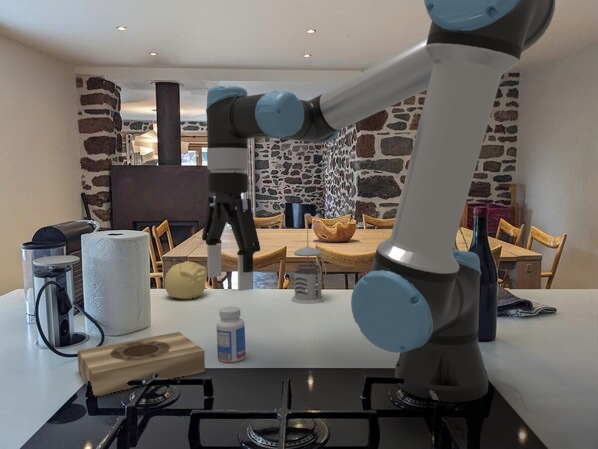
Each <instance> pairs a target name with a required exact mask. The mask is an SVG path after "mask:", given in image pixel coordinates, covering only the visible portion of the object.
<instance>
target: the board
mask: <svg viewBox="0 0 598 449" xmlns="http://www.w3.org/2000/svg"><path fill="white" fill-rule="evenodd" d="M205 355H206V354H205V349H204V348H203V347H201V346H199V344H196V343H195V342H194V341H192V340H191V339H189V338H188V337H187V336H185V335H184V334H183V333H181V332H180V331H177V332H171V333H166V334H158V335H154V336H149V337H144V338H142V337H141V338H137V339H133V340H132V339H131V340H126V341H122V342H115V343H110V344H105V345H98V346H94V347H87V348H83V349H78V350H77V363H78V364H77V367H78V373H79V375H80V377H81V378H82V380H83V381H84V384H85V385H86V384H87V382H88V381H90V382H91V386H92V391H93V395H96V396H99V397H102V396H107V395H111V394H110V393H112V394H114V393H113V392H116V391H120V390H124V391H126V390H125V389H129V388H132V387H133V386H130V385H128V384H127V383H128V382H129V381H131V380H134V379H146V378H147V377H149V376H150V375H151V374H152V373H157V374H158V377H161V378H171V377H180V378H183V377H182V376H184V377H187V376H192V375H196V374H201V373H204V372H206V366H205V364H206V362H205V361H206V360H205V358H206V357H205ZM129 390H130V389H129ZM120 392H121V391H120ZM116 393H117V392H116ZM106 394H107V395H106Z"/></svg>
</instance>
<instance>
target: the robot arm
mask: <svg viewBox="0 0 598 449" xmlns="http://www.w3.org/2000/svg"><path fill="white" fill-rule="evenodd" d="M423 1H424V6H425V9H426V12H427V14H428V17H429V18H430V20H431V23H430V27H429V32H428V34H427V36H426V37H424V38H422V39H421V40H419V41H417V42H415V43H413V44H411V45H409V46H408V47H406V48H404V49H402V50H400V51H398V52H397V53H395V54H393V55H391V56H389V57H387V58H386V59H383V60H381V61H380V62H378V63H376V64H374V65H373V66H371V67H368V68H367V69H366V70H364V71H362V72H360V73H358V74H356V75H354V76H352V77H351V78H349V79H347V80H344V81H343V82H341V83H340V84H338V85H336V86H334V87H332V88H330V89H328V90H326V91H325V92H323V93H321V94H319V95H317V96H316V97H314V98H312V99H309V100H305V99H300V98H299V97H297V96H296V93H294V92H291V91H287V90H286V91H285V90H284V91H276V90H275V91H274V90H273V91H269V92H266V93H260V94H258V93H257V94H253V95H252V94H251V95H248V91H247V90H246V89H245V88H244V87H241V86H238V85H237V86H236V85H219V86H218V85H217V86H212V87H211V88H209V89H208V91H207V96H206V97H207V98H206V109H205V114H206V132H207V133H206V136H207V138H206V139H207V140H206V141H207V144H206V145H207V149H206V161H207V162H206V165H207V166H206V167H207V170H209V171H210V172H208V175H207V191H208V193H209V194H210V193H211V194H215V195H214V196H208V197H207V208H206V209H207V210H206V214H205V218H204V219H205V220H204V224H203V230H202V236H201V239H202V241H205V245H206V246H207V251H206V253H207V257H206V259H207V278H210V279H211V278H218V277H219V278H220V277H222V243H223V242H222V240H221V238H222V235H223V233H224V230H225V228H226V225H229V226H230V229H231V230H232V233H233V236H234V239H235V242H236V244H237V246H238V251H237V253H236V255H237V291H240V292H241V291H248V290H254V254H255V253H256V252H261V244H260V241H259V237H258V232H257V227H256V223H255V219H254V216H253V215H254V214H253V211H252V200H251V198H243V197H242V194H246V193H247V192H248V191H249V174H247V172H246V173H245V171H247V170H248V167H249V166H248V164H249V163H248V160H249V158H250V155H249V154H248V147H249V144H248V143H249V142H248V141H249V139H278V140H289V141H290V140H291V141H301V142H309V143H313V144H320V143H328V142H331V141H333V140H335V139H336V137H337V136H338V134H339V133H340V132H341V130H342V129H345V128H347V127H349V126H351V125H354V124H356V123H358V122H360V121H363V120H364V119H367V118H369V117H372V116H373V115H375V114H377V113H379V112H382V111H384V110H386V109H388V108H390V107H392V106H395V105H397V104H399V103H400V102H403V101H405V100H407V99H410V98H412V97H414V96H416V95H418V94H421V93H422V92H425V91H426V94H425V98H424V101H423V106H422V108H421V109H422V110H421V113H420V114H421V115H420V118H419V121H418V126H417V129H416V134H415V137H414V142H413V146H412V149H411V154H410V156H409V157H410V158H409V161H408V162H409V163H408V166H407V171H406V175H405V179H404V182H403V186H402V190H401V195H400V197H399V198H400V199H399V203H398V206H397V210H396V214H395V218H394V223H393V225H392V226H393V227H392V231H391V235H390V236H389V237H388V238H387V239H385V240H383V241H382V242H380V243H378V245H377V246H376V250H375V254H374V258H373V263H372V268H371V271H369V272H367V273H366V274H365V275H363V276H362V277H361V278H360V279H359V280H358V281H357V282H356V284H355V285H354V288H353V290H352V293H351V298H350V300H351V301H350V304H351V307H350V308H351V313H352V317H353V319H354V322H355V324H357V325H358V327H359V330H360V332H361V333H362V335H363V336H364V337H365V339H367V340H368V342H370V344H373V345H374V346H376V347H377V348H379V349H381V350H383V351H386V352H390V353H395V354H396V353H397V354H398V353H399V357H398V360H397V361H396V364H395V367H394V368H395V369H394V371H395V372H394V378H395V377H396V378H401V379H404V383H403V384H396V385H397V386H398V387H399V389H401V390H402V391H404V392H406V393H408V394H409V395H412V396H415V397H418V398H420V397H421V399H424V398H427V397H428V392H429V391H430V390H432V391H434V393H435V394H436V395H437V397H438V398H439V400H440V401H441V403H442V402H443V403H467V402H471V401H475V400H478V399H481V398H482V397H484V396H485V395H486V394H487V393H488V392H489V373H488V372H487V370H486V366H485V362H484V358H483V355H482V351H481V348H480V344H479V320H480V319H479V318H480V316H479V315H480V313H479V312H480V292H481V291H480V288H481V276H482V271H481V262H480V257H479V255H478V254H477V253H475V252H472V251H466V250H458V249H457V250H456V249H455V250H454V246H455V242H456V239H457V235H458V232H459V229H460V225H461V221H462V217H463V213H464V210H465V207H466V203H467V200H468V196H469V193H470V188H471V185H472V182H473V179H474V176H475V175H474V174H475V171H476V168H477V163H478V161H479V158H480V154H481V149H482V147H483V144H484V140H485V136H486V133H487V129H488V125H489V122H490V118H491V114H492V111H493V108H494V105H495V100H496V98H497V93H498V91H499V86H500V82H501V79H502V76H503V75H504V74H506V72H508V71H509V70H511V69H513V68H514V67H515V66H517V65H518V64H519V62H520V59H521V55H522V53H524V52H526V51H527V50H528V49H530V48H531V47H532V46H534V44H536V43H537V42H538V41H539V40H540V39H541V38H542V37H543V36H544V35H545V33H546V31H547V30H548V29H549V26H550V25H551V22H552V20H553V18H554V14H555V13H554V12H555V10H556V8H555V7H556V0H423ZM440 401H439V402H440Z"/></svg>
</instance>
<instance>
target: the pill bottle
mask: <svg viewBox="0 0 598 449" xmlns="http://www.w3.org/2000/svg"><path fill="white" fill-rule="evenodd" d="M219 318H220V319H219V320H218V321H217V322H216V346H217V348H216V349H217V359H218V360H219V361H220V362H223V363H237V362H240V361H242V360H244V359H245V358H246V328H245V321H244V320H243V318H241V308H240V307H238V306H225V307H221V308H219Z"/></svg>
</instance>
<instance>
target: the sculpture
mask: <svg viewBox="0 0 598 449" xmlns="http://www.w3.org/2000/svg"><path fill="white" fill-rule="evenodd" d="M165 274H166V275H165V278H164V287H165V288H164V289H165V291H166V294H167V295H168V296H169V297H171V298H175V299H182V300H193V299H192V298H194V299H197V298H199V297H200V296H201V295H202V294H203V292H204V291H205V287H206V282H207V274H208V270H207V268H206V267H205V266H202V265H201V264H199V263H196V262H193V261H188V260H185V261H184V262H180V263H177V264H174V265H172V266H171V267H170V268H169V270H168V271H167V272H166V273H165ZM196 297H197V298H196Z"/></svg>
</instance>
